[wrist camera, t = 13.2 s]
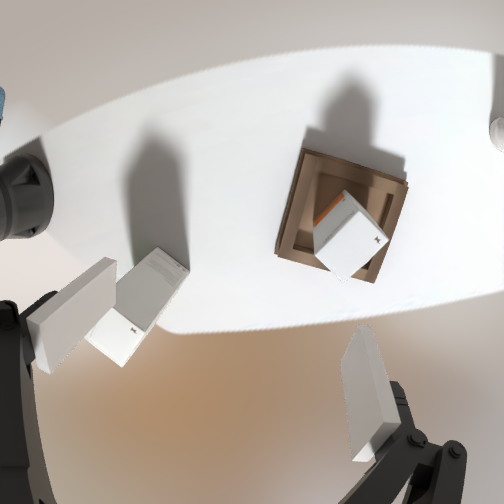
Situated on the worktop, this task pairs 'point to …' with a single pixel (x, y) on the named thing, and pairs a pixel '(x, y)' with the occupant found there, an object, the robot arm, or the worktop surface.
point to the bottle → (497, 133)
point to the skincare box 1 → (137, 305)
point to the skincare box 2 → (346, 236)
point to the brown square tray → (321, 196)
